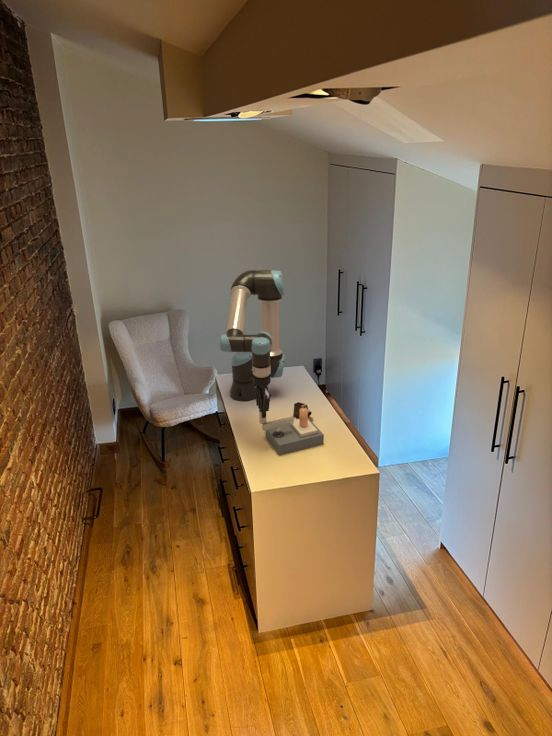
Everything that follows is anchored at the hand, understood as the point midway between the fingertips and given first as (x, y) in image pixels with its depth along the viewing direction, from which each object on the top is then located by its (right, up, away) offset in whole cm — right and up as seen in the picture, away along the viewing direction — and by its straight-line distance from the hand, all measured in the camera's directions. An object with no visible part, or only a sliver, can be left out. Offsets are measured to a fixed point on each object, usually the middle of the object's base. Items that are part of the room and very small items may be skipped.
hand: (262, 422), depth 238 cm
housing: (+14, -8, +4) cm, 17 cm away
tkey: (+7, -5, -1) cm, 9 cm away
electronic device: (+19, 0, +21) cm, 28 cm away
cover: (+18, -3, +3) cm, 18 cm away
